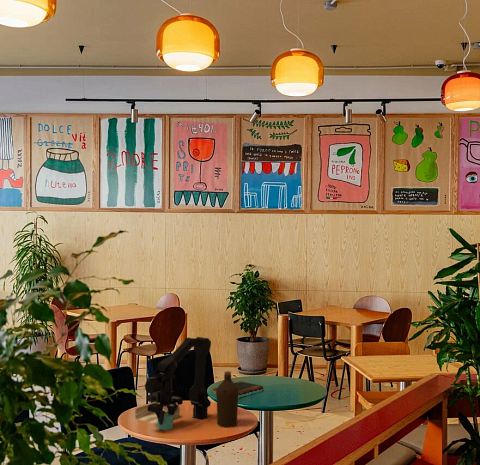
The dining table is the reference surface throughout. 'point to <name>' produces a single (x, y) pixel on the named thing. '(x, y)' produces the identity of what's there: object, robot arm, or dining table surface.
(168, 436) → the dining table surface
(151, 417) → the birch crate
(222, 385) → the olive oil
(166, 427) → the teal block
